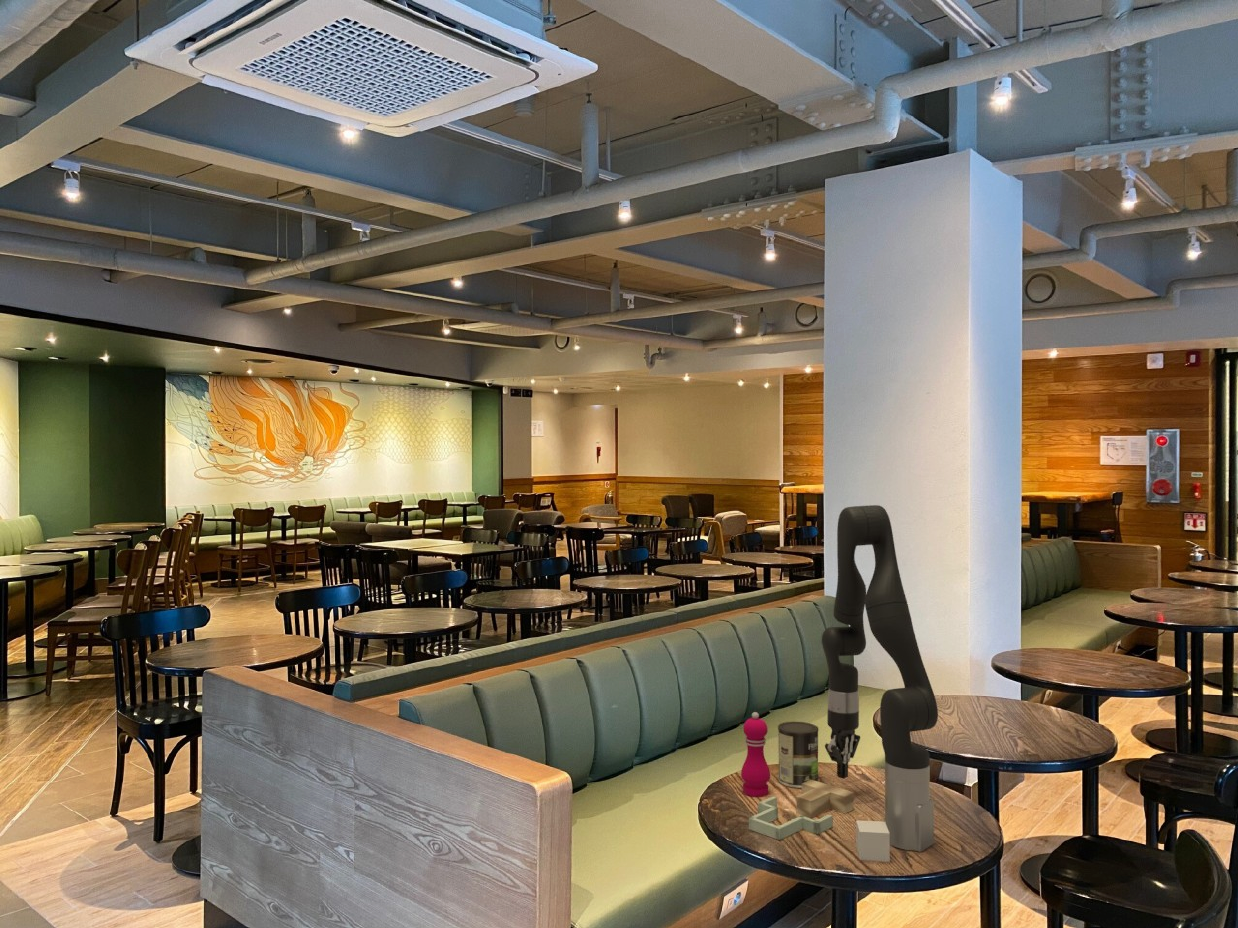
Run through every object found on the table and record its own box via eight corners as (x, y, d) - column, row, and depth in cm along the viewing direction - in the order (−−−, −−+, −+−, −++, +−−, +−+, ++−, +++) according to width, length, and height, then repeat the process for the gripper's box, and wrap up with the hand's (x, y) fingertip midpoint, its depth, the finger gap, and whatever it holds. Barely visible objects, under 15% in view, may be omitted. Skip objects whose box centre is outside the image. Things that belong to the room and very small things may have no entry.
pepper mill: (767, 798, 217) (767, 717, 217) (738, 795, 220) (738, 714, 220) (772, 788, 224) (772, 709, 224) (744, 785, 226) (743, 707, 226)
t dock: (832, 826, 201) (832, 815, 201) (794, 845, 190) (794, 834, 190) (773, 806, 212) (773, 796, 212) (734, 823, 202) (734, 812, 202)
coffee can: (823, 778, 231) (823, 724, 231) (811, 791, 222) (811, 734, 222) (785, 771, 236) (785, 718, 236) (772, 783, 227) (772, 728, 227)
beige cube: (859, 860, 183) (859, 831, 184) (856, 848, 189) (855, 820, 189) (889, 862, 183) (889, 832, 183) (885, 849, 189) (884, 821, 189)
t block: (854, 809, 211) (854, 792, 211) (825, 823, 202) (825, 805, 202) (811, 795, 219) (811, 779, 219) (782, 808, 211) (782, 791, 211)
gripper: (841, 716, 212) (841, 788, 212) (870, 705, 221) (870, 774, 221) (815, 709, 217) (814, 779, 217) (844, 699, 226) (843, 766, 227)
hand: (842, 776), depth 219 cm, fingers closed
